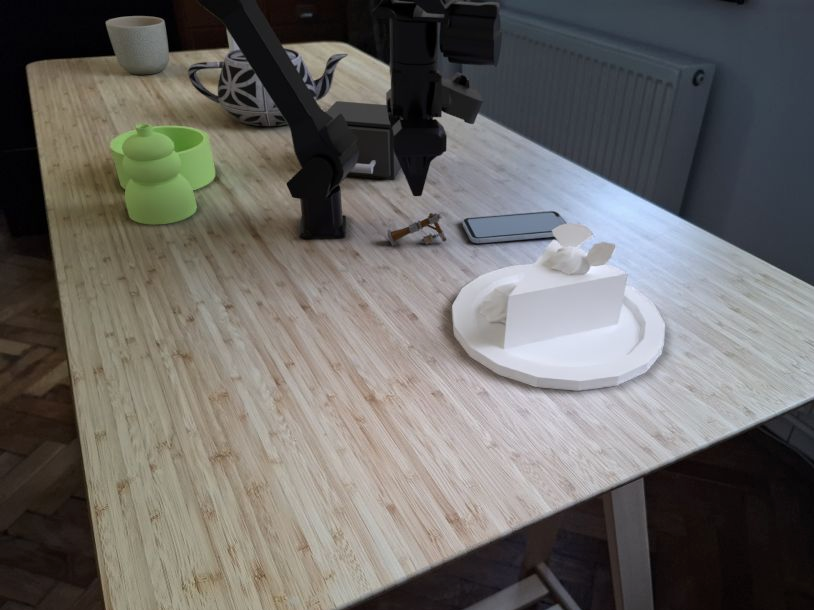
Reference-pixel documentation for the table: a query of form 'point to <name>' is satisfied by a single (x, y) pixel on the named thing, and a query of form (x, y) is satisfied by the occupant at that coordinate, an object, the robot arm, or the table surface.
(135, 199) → the food container
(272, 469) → the table surface
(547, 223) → the smartphone
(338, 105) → the cabinet
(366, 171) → the drawer
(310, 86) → the teapot
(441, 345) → the table surface
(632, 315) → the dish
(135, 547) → the table surface
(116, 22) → the planter
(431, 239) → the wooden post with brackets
